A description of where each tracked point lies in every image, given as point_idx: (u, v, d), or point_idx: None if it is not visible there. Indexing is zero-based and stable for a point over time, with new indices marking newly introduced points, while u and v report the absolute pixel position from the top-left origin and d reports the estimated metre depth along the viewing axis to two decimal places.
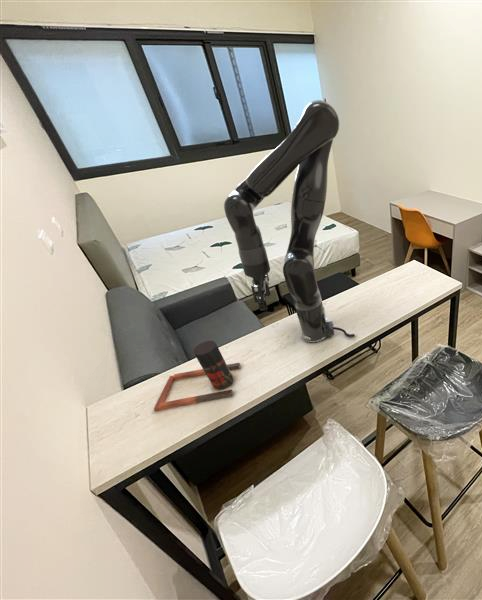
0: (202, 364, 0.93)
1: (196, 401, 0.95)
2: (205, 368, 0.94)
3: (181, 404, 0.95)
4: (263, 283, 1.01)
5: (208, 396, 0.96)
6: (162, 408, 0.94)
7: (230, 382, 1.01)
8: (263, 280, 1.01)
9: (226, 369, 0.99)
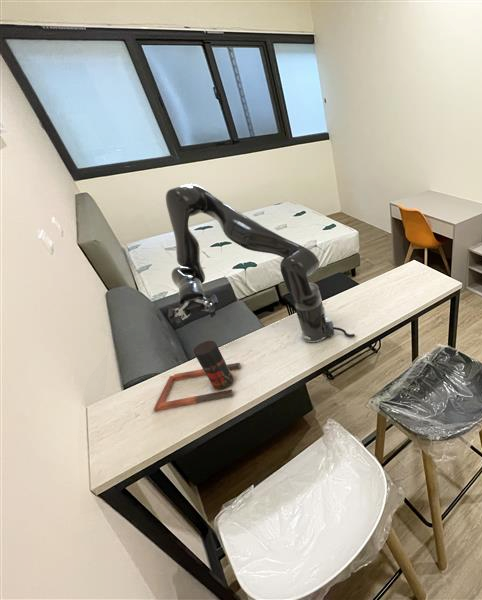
0: (202, 364, 0.93)
1: (196, 401, 0.95)
2: (205, 368, 0.94)
3: (181, 404, 0.95)
4: None
5: (208, 396, 0.96)
6: (162, 408, 0.94)
7: (230, 382, 1.01)
8: None
9: (226, 369, 0.99)
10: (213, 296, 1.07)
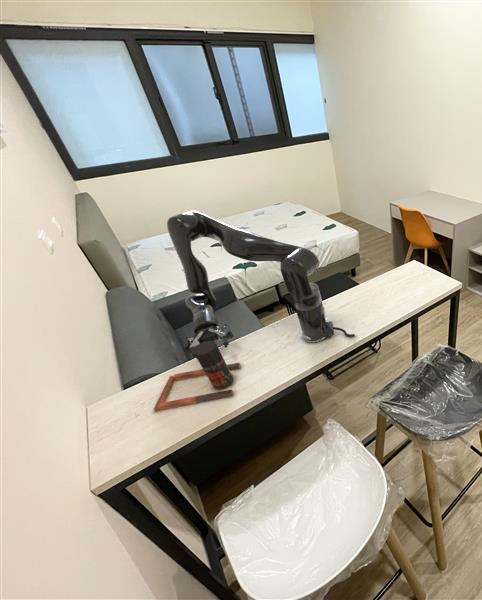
0: (202, 364, 0.93)
1: (196, 401, 0.95)
2: (205, 368, 0.94)
3: (181, 404, 0.95)
4: None
5: (208, 396, 0.96)
6: (162, 408, 0.94)
7: (230, 382, 1.01)
8: None
9: (226, 369, 0.99)
10: (226, 325, 1.11)
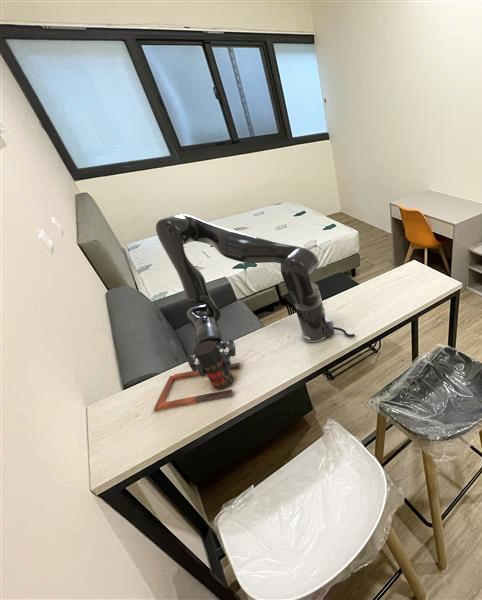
0: (202, 364, 0.93)
1: (196, 401, 0.95)
2: (205, 368, 0.94)
3: (181, 404, 0.95)
4: None
5: (208, 396, 0.96)
6: (162, 408, 0.94)
7: (230, 382, 1.01)
8: None
9: (226, 369, 0.99)
10: (230, 341, 1.04)
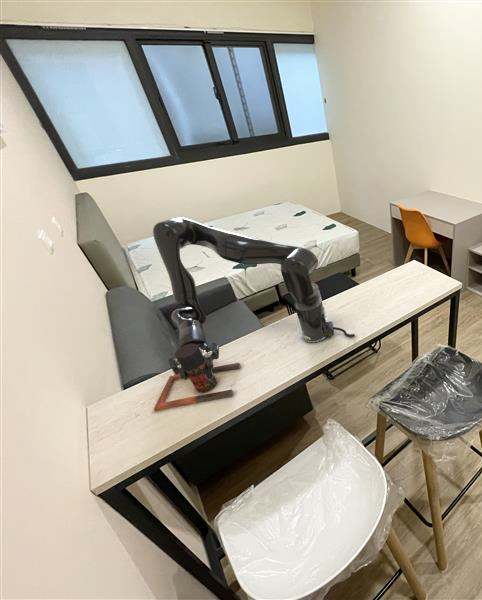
0: (184, 367, 0.92)
1: (196, 401, 0.95)
2: (187, 371, 0.93)
3: (181, 404, 0.95)
4: None
5: (208, 396, 0.96)
6: (162, 408, 0.94)
7: (213, 385, 1.00)
8: None
9: (209, 372, 0.98)
10: (214, 344, 1.03)
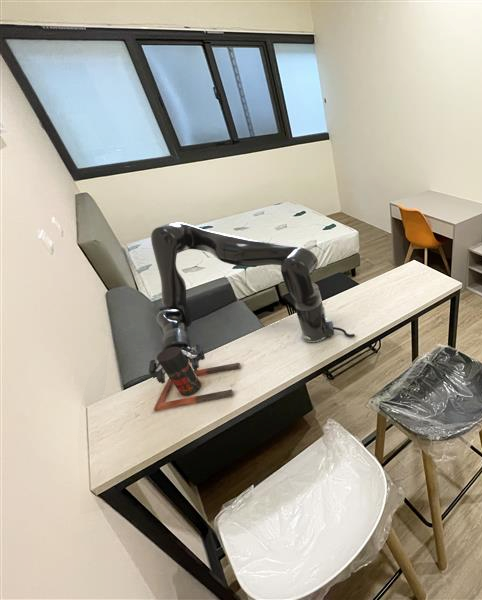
0: (166, 370, 0.92)
1: (196, 401, 0.95)
2: (169, 374, 0.93)
3: (181, 404, 0.95)
4: None
5: (208, 396, 0.96)
6: (162, 408, 0.94)
7: (197, 388, 0.99)
8: None
9: (192, 375, 0.97)
10: (197, 346, 1.03)
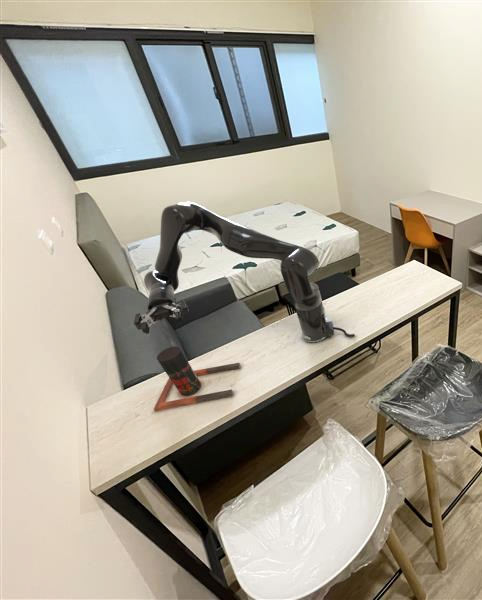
0: (166, 370, 0.92)
1: (196, 401, 0.95)
2: (169, 374, 0.93)
3: (181, 404, 0.95)
4: None
5: (208, 396, 0.96)
6: (162, 408, 0.94)
7: (197, 388, 0.99)
8: None
9: (192, 375, 0.97)
10: (182, 302, 1.06)
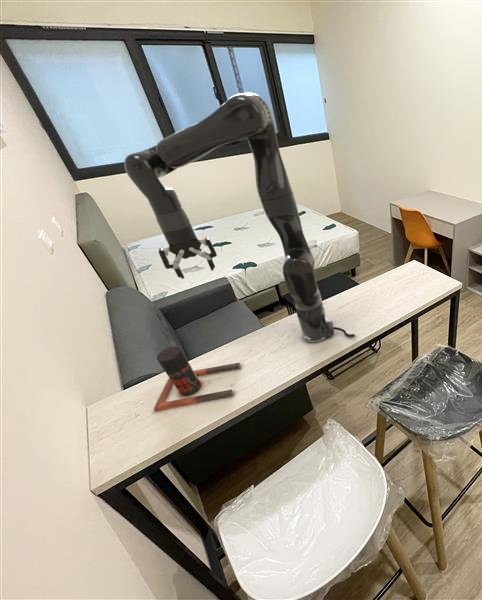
0: (166, 370, 0.92)
1: (196, 401, 0.95)
2: (169, 374, 0.93)
3: (181, 404, 0.95)
4: (178, 252, 0.96)
5: (208, 396, 0.96)
6: (162, 408, 0.94)
7: (197, 388, 0.99)
8: (179, 250, 0.96)
9: (192, 375, 0.97)
10: (208, 243, 1.00)
